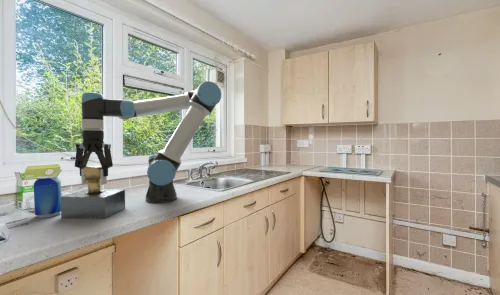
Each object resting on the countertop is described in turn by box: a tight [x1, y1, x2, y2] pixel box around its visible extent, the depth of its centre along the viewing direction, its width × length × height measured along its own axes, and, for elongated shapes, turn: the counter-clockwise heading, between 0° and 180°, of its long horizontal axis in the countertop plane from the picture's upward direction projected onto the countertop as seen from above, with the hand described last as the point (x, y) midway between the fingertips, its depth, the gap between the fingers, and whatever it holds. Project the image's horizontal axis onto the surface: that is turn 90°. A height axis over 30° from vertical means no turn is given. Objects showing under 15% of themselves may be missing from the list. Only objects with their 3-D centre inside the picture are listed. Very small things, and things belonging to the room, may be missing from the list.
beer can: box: [33, 175, 62, 219], centre depth 97 cm, size 8×8×16 cm
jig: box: [60, 188, 126, 220], centre depth 101 cm, size 18×14×8 cm
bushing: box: [83, 165, 102, 195], centre depth 100 cm, size 8×8×13 cm
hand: (94, 183), depth 100 cm, fingers closed on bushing, 8 cm apart
